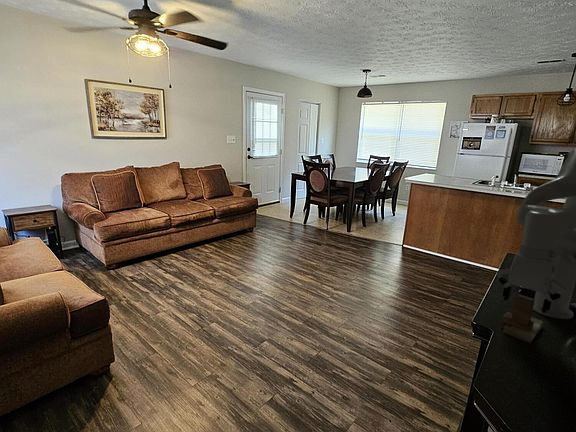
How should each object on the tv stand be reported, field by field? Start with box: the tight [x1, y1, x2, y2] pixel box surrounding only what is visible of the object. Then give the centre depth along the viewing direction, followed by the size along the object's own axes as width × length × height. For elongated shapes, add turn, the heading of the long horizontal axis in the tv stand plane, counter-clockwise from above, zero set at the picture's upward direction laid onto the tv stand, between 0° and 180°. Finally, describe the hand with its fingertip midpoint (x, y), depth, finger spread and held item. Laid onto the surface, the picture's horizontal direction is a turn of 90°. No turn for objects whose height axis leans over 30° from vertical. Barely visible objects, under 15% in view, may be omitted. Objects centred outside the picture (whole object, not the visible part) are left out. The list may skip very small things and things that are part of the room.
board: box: [502, 316, 544, 344], centre depth 100 cm, size 14×7×2 cm, turn 130°
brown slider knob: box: [500, 293, 535, 332], centre depth 97 cm, size 4×7×11 cm, turn 40°
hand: (524, 304), depth 97 cm, fingers open, 9 cm apart
